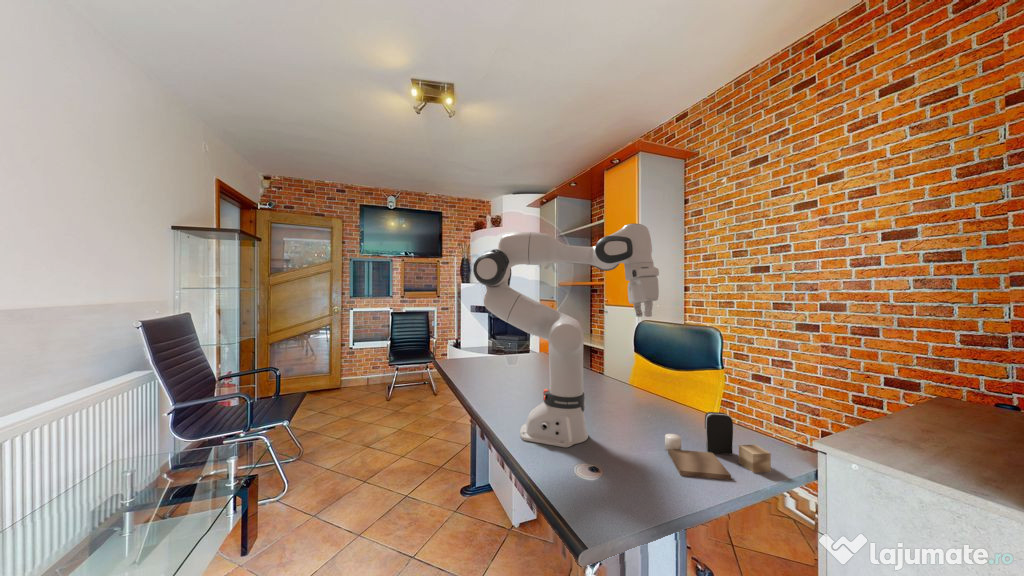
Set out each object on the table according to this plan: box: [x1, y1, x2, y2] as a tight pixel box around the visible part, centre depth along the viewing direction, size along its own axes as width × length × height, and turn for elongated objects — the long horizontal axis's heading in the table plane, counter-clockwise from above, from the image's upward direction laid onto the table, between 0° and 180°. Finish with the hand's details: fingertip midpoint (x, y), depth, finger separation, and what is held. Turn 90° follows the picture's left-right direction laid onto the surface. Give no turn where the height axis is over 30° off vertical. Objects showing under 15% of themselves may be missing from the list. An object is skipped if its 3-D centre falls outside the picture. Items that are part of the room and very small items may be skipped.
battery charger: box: [704, 411, 734, 455], centre depth 101 cm, size 7×4×11 cm, turn 75°
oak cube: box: [738, 444, 772, 473], centre depth 92 cm, size 5×5×5 cm
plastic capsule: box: [664, 433, 682, 452], centre depth 102 cm, size 4×4×4 cm
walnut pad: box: [667, 449, 732, 481], centre depth 93 cm, size 12×12×1 cm
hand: (643, 316), depth 108 cm, fingers open, 8 cm apart
